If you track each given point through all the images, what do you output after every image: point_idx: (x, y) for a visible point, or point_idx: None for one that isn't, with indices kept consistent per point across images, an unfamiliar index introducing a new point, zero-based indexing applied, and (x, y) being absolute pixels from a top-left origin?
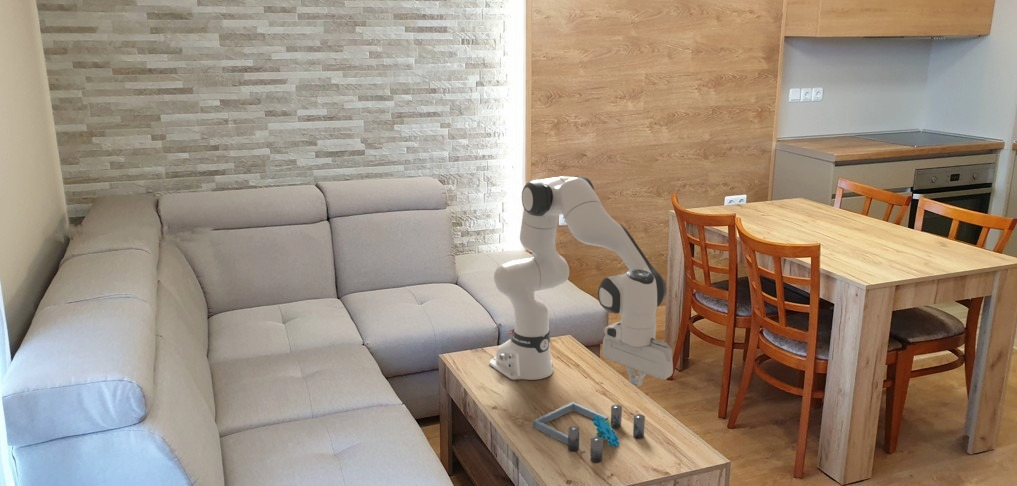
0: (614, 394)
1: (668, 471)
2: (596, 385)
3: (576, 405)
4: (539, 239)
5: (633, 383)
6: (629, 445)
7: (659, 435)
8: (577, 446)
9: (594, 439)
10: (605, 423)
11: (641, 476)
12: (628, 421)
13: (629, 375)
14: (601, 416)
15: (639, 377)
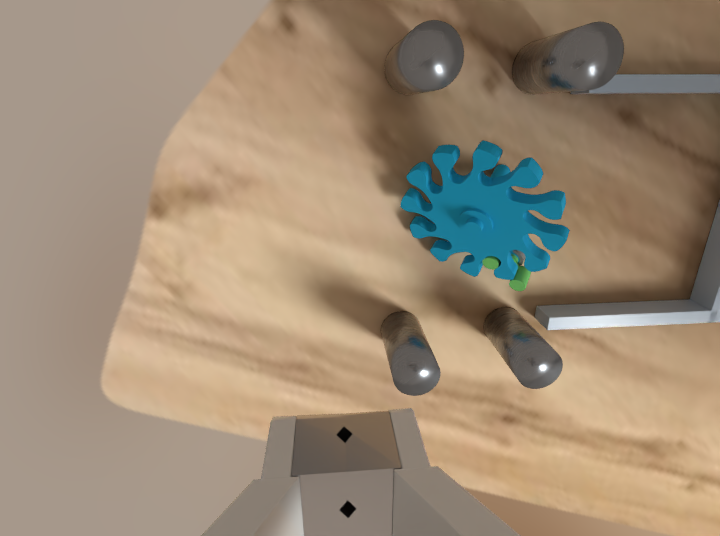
0: (620, 465)
1: (160, 221)
2: (698, 466)
3: (694, 311)
4: None
5: (351, 414)
6: (384, 259)
7: (352, 382)
8: (522, 63)
9: (441, 45)
10: (521, 271)
11: (197, 110)
12: (487, 377)
13: (435, 480)
14: (571, 316)
15: (228, 524)
